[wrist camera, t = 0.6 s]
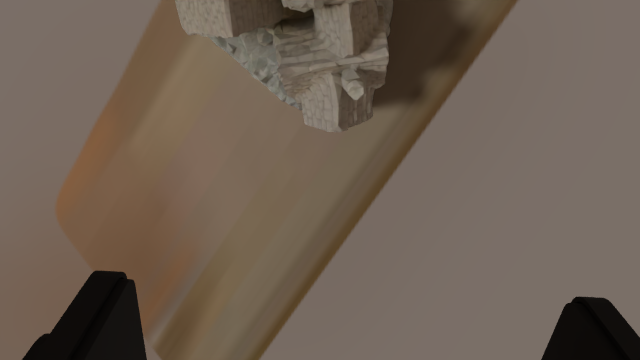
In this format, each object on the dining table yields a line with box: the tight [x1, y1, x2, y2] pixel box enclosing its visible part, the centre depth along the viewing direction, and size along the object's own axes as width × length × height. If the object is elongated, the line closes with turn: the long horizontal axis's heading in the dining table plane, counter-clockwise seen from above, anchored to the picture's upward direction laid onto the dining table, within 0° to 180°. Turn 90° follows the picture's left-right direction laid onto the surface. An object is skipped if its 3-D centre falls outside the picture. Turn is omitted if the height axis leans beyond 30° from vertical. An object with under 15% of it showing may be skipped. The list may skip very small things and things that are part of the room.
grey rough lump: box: [175, 0, 393, 132], centre depth 28 cm, size 16×16×15 cm
